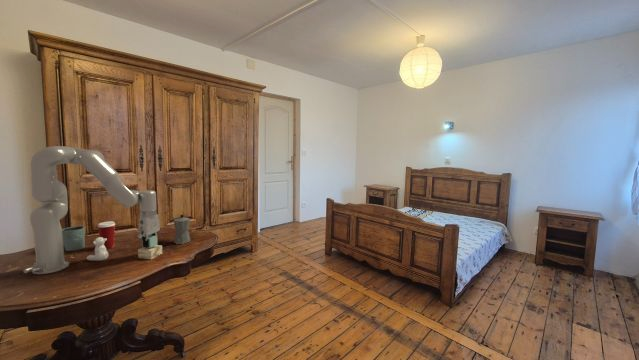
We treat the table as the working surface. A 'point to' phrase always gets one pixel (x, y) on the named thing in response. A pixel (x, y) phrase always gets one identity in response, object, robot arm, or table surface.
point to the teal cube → (151, 241)
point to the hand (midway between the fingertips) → (149, 244)
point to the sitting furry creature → (99, 250)
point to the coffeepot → (182, 230)
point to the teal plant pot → (74, 238)
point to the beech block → (149, 252)
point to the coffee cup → (107, 233)
